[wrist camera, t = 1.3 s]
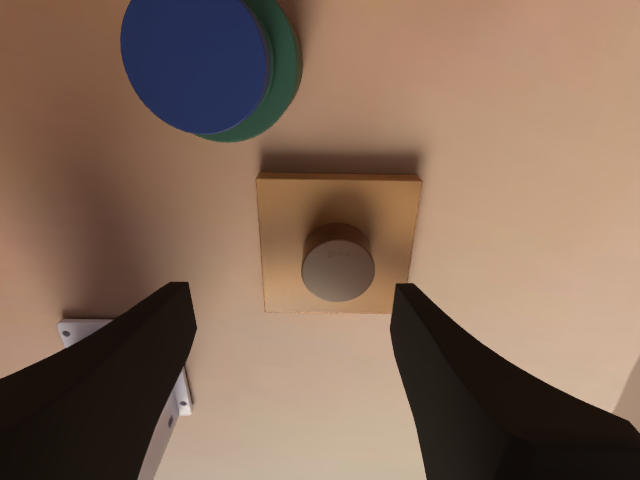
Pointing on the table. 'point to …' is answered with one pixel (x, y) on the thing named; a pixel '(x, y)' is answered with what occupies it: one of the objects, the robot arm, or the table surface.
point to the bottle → (212, 64)
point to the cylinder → (337, 263)
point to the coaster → (335, 207)
